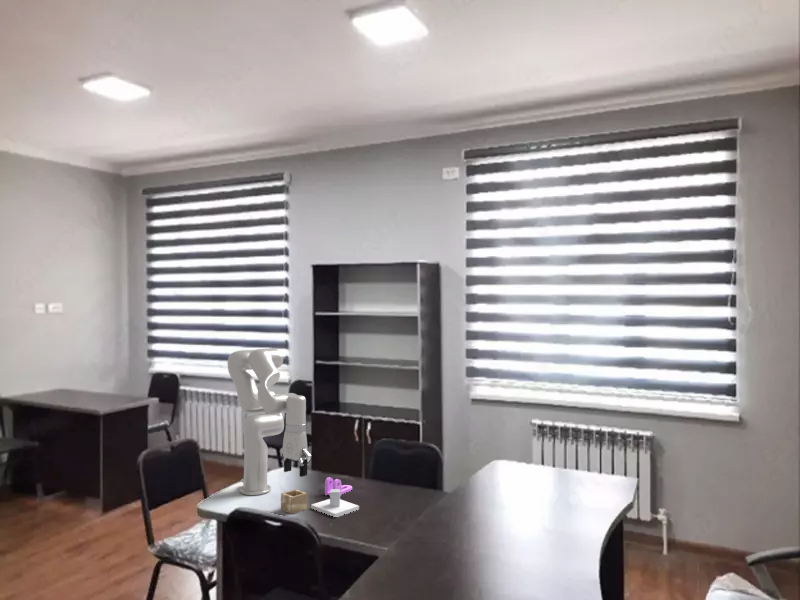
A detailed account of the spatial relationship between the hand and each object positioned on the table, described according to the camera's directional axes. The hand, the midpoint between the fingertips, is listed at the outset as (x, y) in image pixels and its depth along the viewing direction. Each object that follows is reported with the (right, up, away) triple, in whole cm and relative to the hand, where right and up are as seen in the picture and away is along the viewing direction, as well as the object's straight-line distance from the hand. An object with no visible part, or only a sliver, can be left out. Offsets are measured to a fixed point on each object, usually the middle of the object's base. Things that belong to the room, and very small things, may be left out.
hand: (295, 473), depth 215 cm
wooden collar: (-1, -14, 0) cm, 14 cm away
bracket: (+15, -15, +21) cm, 30 cm away
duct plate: (+15, -14, +1) cm, 20 cm away
